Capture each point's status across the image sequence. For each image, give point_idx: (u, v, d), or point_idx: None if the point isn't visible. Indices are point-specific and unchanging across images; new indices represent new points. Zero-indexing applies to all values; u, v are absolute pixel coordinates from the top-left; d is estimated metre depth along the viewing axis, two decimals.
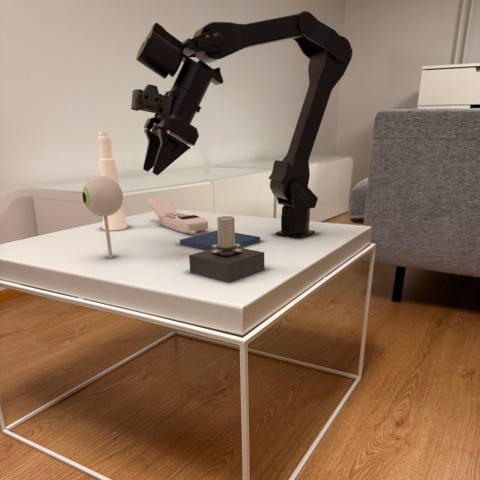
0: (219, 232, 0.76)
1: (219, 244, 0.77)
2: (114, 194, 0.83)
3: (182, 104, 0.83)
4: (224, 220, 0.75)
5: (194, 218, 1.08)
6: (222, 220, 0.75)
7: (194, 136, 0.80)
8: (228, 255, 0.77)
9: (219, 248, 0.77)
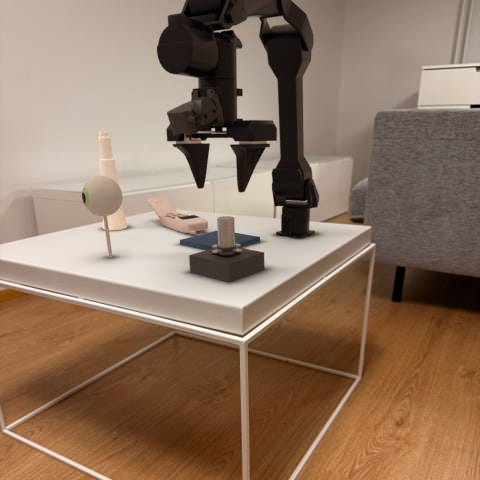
0: (219, 232, 0.76)
1: (219, 244, 0.77)
2: (114, 194, 0.83)
3: (229, 98, 0.68)
4: (224, 220, 0.75)
5: (194, 218, 1.08)
6: (222, 220, 0.75)
7: (275, 131, 0.67)
8: (228, 255, 0.77)
9: (219, 248, 0.77)
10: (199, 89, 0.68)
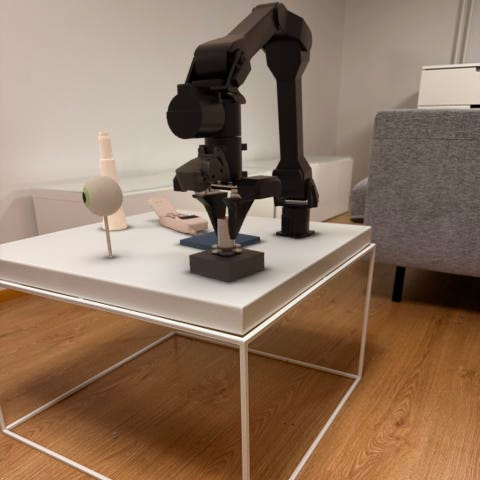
0: (219, 232, 0.76)
1: (219, 244, 0.77)
2: (114, 194, 0.83)
3: (234, 154, 0.70)
4: (224, 220, 0.75)
5: (194, 218, 1.08)
6: (222, 220, 0.75)
7: (280, 186, 0.70)
8: (228, 255, 0.77)
9: (219, 248, 0.77)
10: (205, 146, 0.70)
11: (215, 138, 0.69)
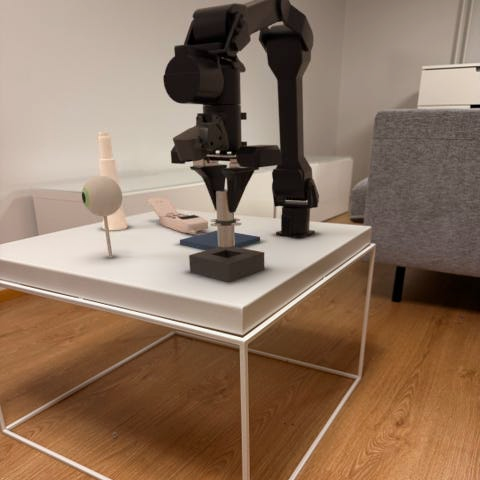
0: (218, 205, 0.74)
1: (218, 217, 0.75)
2: (113, 194, 0.83)
3: (233, 123, 0.68)
4: (223, 192, 0.73)
5: (194, 218, 1.08)
6: (221, 192, 0.73)
7: (280, 155, 0.68)
8: (227, 228, 0.75)
9: (218, 221, 0.75)
10: (204, 114, 0.69)
11: (214, 105, 0.67)
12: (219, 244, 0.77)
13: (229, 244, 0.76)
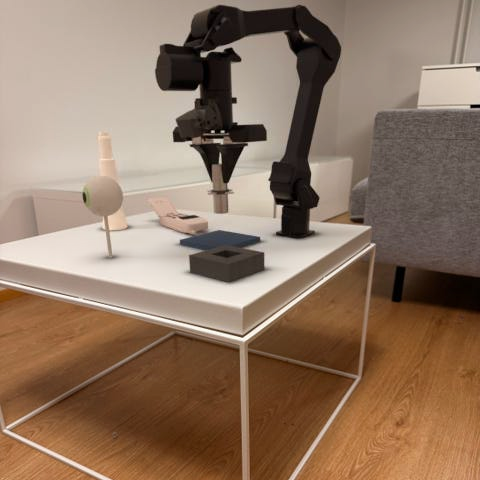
0: (213, 177, 0.87)
1: (214, 188, 0.88)
2: (114, 194, 0.83)
3: (226, 106, 0.82)
4: (218, 165, 0.86)
5: (194, 218, 1.08)
6: (216, 165, 0.86)
7: (265, 132, 0.81)
8: (222, 197, 0.89)
9: (214, 191, 0.88)
10: (201, 99, 0.82)
11: (209, 91, 0.80)
12: (215, 211, 0.90)
13: (223, 211, 0.90)
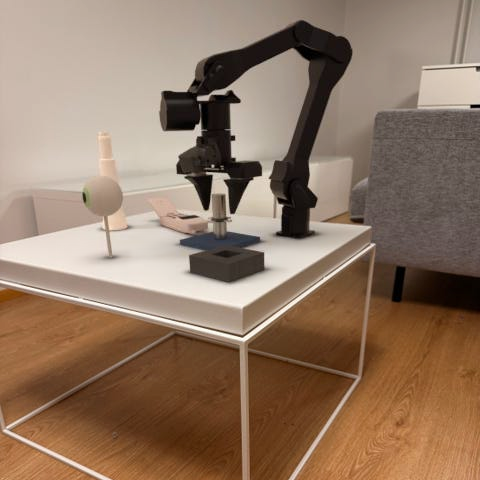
0: (213, 206, 0.94)
1: (213, 216, 0.95)
2: (114, 195, 0.83)
3: (225, 144, 0.89)
4: (217, 196, 0.93)
5: (194, 218, 1.08)
6: (216, 196, 0.93)
7: (260, 169, 0.88)
8: (221, 224, 0.95)
9: (213, 219, 0.95)
10: (202, 137, 0.89)
11: (209, 131, 0.87)
12: (214, 237, 0.97)
13: (222, 237, 0.96)
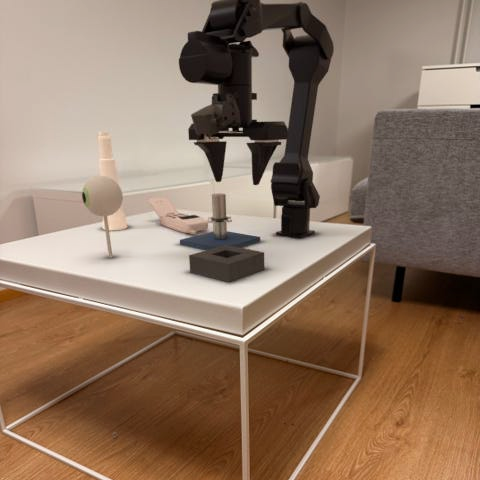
0: (213, 206, 0.94)
1: (213, 216, 0.95)
2: (114, 194, 0.83)
3: (245, 102, 0.77)
4: (217, 196, 0.93)
5: (194, 218, 1.08)
6: (216, 196, 0.93)
7: (286, 130, 0.76)
8: (221, 224, 0.95)
9: (213, 219, 0.95)
10: (219, 94, 0.77)
11: (227, 86, 0.76)
12: (214, 237, 0.97)
13: (222, 237, 0.96)
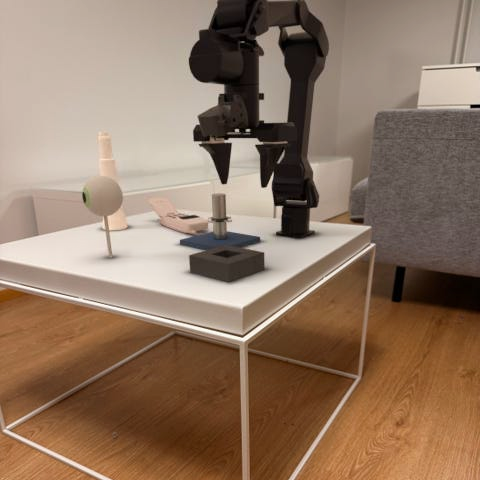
0: (213, 206, 0.94)
1: (213, 216, 0.95)
2: (114, 194, 0.83)
3: (252, 102, 0.75)
4: (217, 196, 0.93)
5: (194, 218, 1.08)
6: (216, 196, 0.93)
7: (295, 131, 0.74)
8: (221, 224, 0.95)
9: (213, 219, 0.95)
10: (225, 94, 0.75)
11: (235, 86, 0.73)
12: (214, 237, 0.97)
13: (222, 237, 0.96)
